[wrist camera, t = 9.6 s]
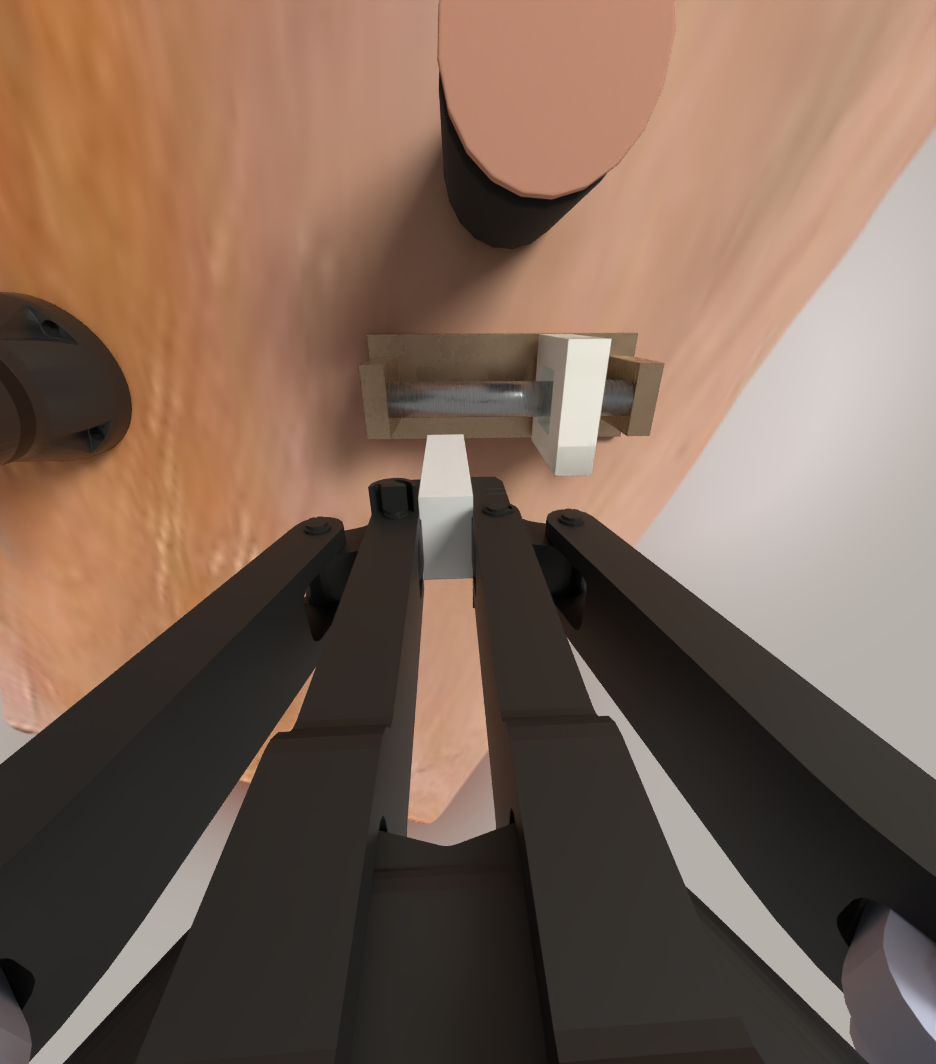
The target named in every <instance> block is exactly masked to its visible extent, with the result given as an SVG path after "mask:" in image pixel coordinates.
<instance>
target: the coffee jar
mask: <svg viewBox="0 0 936 1064" xmlns="http://www.w3.org/2000/svg"><path fill="white" fill-rule="evenodd" d="M675 32H676V13H675V0H440V1H439V12H438V58H437V60H438V65H439V99H440V116H441V132H442V149H443V165H444V178H445V182H446V187H447V192H448V196H449V201H450V203H451V205H452V207H453V209H454V211H455V213H456V215H457V217H458V219H459V221H460V223H461V224H462V225H463V226H464V227H465V228H466V229H467V230H468V231H469V232H470V233H471V234H472V235H473V236H474V237H475V238H476V239H478V240H480V241H482V242H484V243H486V244H488V245H490V246H492V247H497V248H509V249H513V248H516V247H520V246H523V245H527V244H530V243H532V242H533V241H535V240H536V239H537V238H539V237H540V236H541V235H543V234H544V233H546V232H547V231H548V230H549V229H550V228H551V227H552V226H554V225H555V224H556V223H557V222H558V221H559V220H560V219H561V218H562V217H563V216H564V215H565V214H566V213H567V212H568V211H570V210H571V209H572V208H573V207H574V206H575V205H576V204H577V203H578V202H579V201H580V200H581V199H582V198H583V197H584V196H585V195H587V194H588V193H589V192H590V191H591V190H592V189H593V188H594V187H595V186H596V185H597V184H598V183H599V182H600V181H601V180H602V179H603V178H604V176H605V175H606V174H607V172H609V171H610V170H611V169H613V168H614V167H615V166H617V165H618V164H619V162H620V161H621V160H622V159H623V157H624V156H625V155H626V153H627V152H628V151H629V149H630V148H631V147H632V146H633V144H634V143H635V142H636V140H637V139H638V138H639V136H640V135H641V134H642V132H643V131H644V130H645V127H646V125H647V123H648V121H649V118H650V116H651V114H652V112H653V109H654V107H655V105H656V103H657V100H658V98H659V96H660V94H661V92H662V89H663V87H664V84H665V80H666V75H667V70H668V65H669V61H670V56H671V51H672V46H673V41H674V37H675Z"/></svg>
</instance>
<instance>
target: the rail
mask: <svg viewBox="0 0 936 1064" xmlns="http://www.w3.org/2000/svg"><path fill="white" fill-rule="evenodd" d="M540 334H575V335H583V336H592V337H600V338H609V339H611V346H610V353H609V360H608V367H607V374H606V380H605V387H604V394H603V401H602V408H601V414H600V421H599V428H598V435H597V437H619V436H620V435H621V432H622V433H623V434H625V435H626V436H649V435H650V431H651V426H652V421H653V416H654V411H655V406H656V402H657V397H658V392H659V387H660V382H661V377H662V373H663V368H664V363H662V362H657V361H652V360H647V359H642V358H637V357H634V354H635V348H636V343H637V337H638V333H540ZM538 340H539V334H368V335H367V341H368V350H369V359H370V360H369V361H367V362H364V363H362V364H360V365H358V366H359V374H360V382H361V391H362V399H363V407H364V415H365V423H366V432H367V439H427V435H456V434H463V435H464V438H532V426H533V417H550V416H551V405H552V393H553V382H554V381H536V369H537V355H538Z"/></svg>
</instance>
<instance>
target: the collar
mask: <svg viewBox="0 0 936 1064" xmlns="http://www.w3.org/2000/svg"><path fill="white" fill-rule="evenodd" d="M610 346H611V339H609V338H600V337H592V336H583V335H575V334H539V340H538V355H537V369H536V381H554V382H553V393H552V405H551V416H550V417H533V426H532V442H533V443H534V445H535V446H536V448H537V449H538V451H539V452H540V454H541V455H542V457H543V459H544V460H545V462H546V463H547V465H548V466H549V468H550V469H551V471H552V472H553V474H554V475H555V476H583V475H592V469H593V462H594V455H595V449H596V442H597V435H598V428H599V421H600V414H601V408H602V401H603V394H604V387H605V380H606V374H607V367H608V360H609V353H610Z"/></svg>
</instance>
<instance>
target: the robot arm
mask: <svg viewBox="0 0 936 1064" xmlns="http://www.w3.org/2000/svg"><path fill="white" fill-rule="evenodd" d="M131 410H132V408H131V397H130V392H129V388H128V385H127V382H126V379H125V377H124V375H123V373H122V371H121V368H120V367H119V365H118V363H117V361H116V360H115V358H114V357H113V355H112V354H111V352H110V351H109V350H108V348H107V347H106V346H105V345H104V344H103V342H102V341H101V340H100V339H99V338H98V337H97V336H96V335H95V334H94V333H93V332H92V331H91V330H90V329H89V328H88V327H87V326H85V325H84V324H83V323H82V322H81V321H79V320H78V319H77V318H75V317H74V316H72V315H71V314H69V313H68V312H66V311H65V310H63V309H61V308H59V307H57V306H56V305H53V304H51V303H49V302H47V301H44V300H42V299H39V298H36V297H33V296H29V295H25V294H19V293H7V292H0V466H1V465H4V464H7V463H10V462H14V461H74V460H80V459H84V458H88V457H91V456H93V455H96V454H99V453H101V452H104V451H106V450H108V449H110V448H112V447H113V446H115V445H116V444H117V443H118V442H119V441H120V440H121V439H122V438H123V436H124V435H125V433H126V431H127V429H128V427H129V424H130V420H131ZM368 489H369V497H370V505H371V512H372V515H371V518H370V521H369V523H368V525H367V526H364V527H360V528H356V529H351V530H345V531H344V526H343V523H342V521H340V520H339V519H336V518H331V517H317V518H316V517H314V518H310V519H309V520H306V521H303V522H301V523H299V524H298V525H296V526H294V527H293V528H292V529H291V530H289V531H288V532H287V533H286V534H284V535H283V536H282V537H281V538H280V539H278V540H277V541H276V542H275V543H273V544H272V545H271V546H270V547H268V548H267V549H266V550H265V551H263V552H262V553H261V554H260V555H259V556H257V557H256V558H255V559H254V560H252V561H251V562H250V563H249V564H247V565H246V566H245V567H244V568H242V569H241V570H240V571H239V572H238V573H236V574H235V575H234V576H233V577H231V578H230V579H229V580H228V581H226V582H225V583H224V584H223V585H221V586H220V587H219V588H218V589H217V590H215V591H214V592H213V593H212V594H210V595H209V596H208V597H207V598H205V599H204V600H203V601H202V602H200V603H199V604H198V605H197V606H196V607H194V608H193V609H192V610H191V611H189V612H188V613H187V614H186V615H184V616H183V617H182V618H181V619H179V620H178V621H177V622H176V623H175V624H173V625H172V626H171V627H170V628H168V629H167V630H166V631H165V632H163V633H162V634H161V635H160V636H158V637H157V638H156V639H155V640H154V641H152V642H151V643H150V644H149V645H147V646H146V647H145V648H144V649H142V650H141V651H140V652H139V653H137V654H136V655H135V656H134V657H133V658H131V659H130V660H129V661H128V662H126V663H125V664H124V665H123V666H121V667H120V668H119V669H118V670H116V671H115V672H114V673H113V674H112V675H110V676H109V677H108V678H107V679H105V680H104V681H103V682H102V683H100V684H99V685H98V686H97V687H95V688H94V689H93V690H92V691H91V692H89V693H88V694H87V695H86V696H84V697H83V698H82V699H81V700H79V701H78V702H77V703H76V704H74V705H73V706H72V707H71V708H70V709H68V710H67V711H66V712H65V713H63V714H62V715H61V716H60V717H58V718H57V719H56V720H55V721H53V722H52V723H51V724H50V725H49V726H47V727H46V728H45V729H44V730H42V731H41V732H40V733H39V734H37V735H36V736H35V737H34V738H33V739H31V740H30V741H29V742H28V743H26V744H25V745H24V746H23V747H21V748H20V749H19V750H18V751H16V752H15V753H14V754H13V755H12V756H10V757H9V758H8V759H7V760H5V761H4V762H3V763H2V764H0V1064H29V1062H30V1061H31V1060H32V1058H33V1057H34V1056H35V1055H36V1054H37V1053H38V1052H39V1051H40V1049H41V1048H42V1047H43V1046H44V1045H45V1044H46V1043H47V1042H48V1041H49V1039H51V1037H52V1036H53V1035H54V1034H55V1033H56V1032H57V1031H58V1029H60V1027H61V1026H62V1025H63V1024H64V1023H65V1021H66V1020H67V1019H68V1018H69V1017H70V1015H71V1014H72V1013H73V1012H74V1010H75V1009H76V1008H77V1007H78V1005H79V1004H80V1003H81V1002H82V1001H83V999H84V998H85V997H86V996H87V994H88V993H89V992H90V991H91V990H92V988H93V987H94V986H95V985H96V983H97V982H98V981H99V979H101V977H102V976H103V975H104V974H105V972H106V971H107V970H108V969H109V967H110V966H111V964H112V963H113V962H114V960H115V959H116V957H117V956H118V955H119V953H120V952H121V951H122V949H123V948H124V946H125V945H126V944H127V942H128V941H129V940H130V938H131V937H132V936H133V934H134V933H135V931H136V930H137V929H138V927H139V926H140V924H141V923H142V922H143V920H144V919H145V917H146V916H147V914H148V913H149V911H150V910H151V909H152V907H153V906H154V904H155V903H156V901H157V900H158V898H159V897H160V895H161V894H162V892H163V891H164V889H165V888H166V887H167V885H168V883H169V882H170V881H171V879H172V878H173V876H174V875H175V873H176V872H177V870H178V869H179V867H180V866H181V864H182V863H183V862H184V860H185V859H186V857H187V856H188V854H189V853H190V851H191V850H192V848H193V847H194V845H195V844H196V842H197V841H198V839H199V838H200V837H201V835H202V834H203V832H204V830H205V829H206V827H207V826H208V825H209V823H210V822H211V820H212V819H213V817H214V816H215V814H216V813H217V811H218V810H219V809H220V807H221V806H222V804H223V803H224V801H225V800H226V798H227V797H228V795H229V794H230V792H231V791H232V789H233V788H234V786H235V785H236V784H237V782H238V781H239V779H240V778H241V776H242V775H243V773H244V772H245V770H246V769H247V767H248V766H249V764H250V763H251V762H252V760H253V759H254V757H255V756H256V754H257V753H258V751H259V750H260V748H261V747H262V745H263V744H264V742H265V741H266V739H267V738H268V737H269V735H270V734H271V732H272V731H273V729H274V728H275V726H276V725H277V723H278V722H279V720H280V719H281V717H282V716H283V714H284V713H285V711H286V710H287V709H288V707H289V706H290V704H291V703H292V701H293V700H294V698H295V697H296V695H297V694H298V692H299V691H300V689H301V688H302V686H303V685H304V684H305V682H306V681H307V679H308V678H309V676H310V675H311V673H312V672H313V670H314V669H315V667H316V669H315V672H314V674H313V677H312V680H311V683H310V685H309V688H308V691H307V694H306V696H305V699H304V702H303V705H302V707H301V710H300V713H299V716H298V718H297V721H296V723H295V725H294V727H293V729H292V730H291V731H290V732H278V733H277V734H276V735H275V736H274V737H273V738H272V739H271V740H270V742H269V743H268V745H267V747H266V749H265V751H264V753H263V755H262V757H261V760H260V762H259V764H258V767H257V769H256V772H255V774H254V777H253V779H252V781H251V784H250V786H249V789H248V791H247V793H246V796H245V798H244V801H243V803H242V806H241V808H240V810H239V813H238V815H237V818H236V820H235V823H234V825H233V827H232V830H231V832H230V835H229V837H228V839H227V842H226V844H225V847H224V849H223V851H222V854H221V856H220V859H219V861H218V864H217V866H216V869H215V871H214V873H213V876H212V878H211V881H210V883H209V885H208V888H207V890H206V893H205V895H204V897H203V900H202V902H201V905H200V907H199V909H198V912H197V914H196V917H195V919H194V922H193V924H192V926H191V928H190V929H189V930H188V931H187V932H186V933H185V934H184V935H183V936H182V937H181V938H180V939H179V940H178V941H177V942H176V944H175V945H174V946H173V947H172V948H171V949H170V950H169V951H168V952H167V953H166V954H165V955H164V956H163V957H162V958H161V960H160V961H159V962H158V963H157V964H156V965H155V966H154V967H153V968H152V969H151V970H150V971H149V972H148V973H147V975H146V976H145V977H144V978H143V979H142V980H141V981H140V982H139V983H138V984H137V985H136V986H135V987H134V988H133V989H132V990H131V992H130V993H129V994H128V995H127V996H126V997H125V998H124V999H123V1000H122V1001H121V1002H120V1003H119V1004H118V1005H117V1007H115V1009H114V1010H113V1011H112V1012H111V1013H110V1014H109V1015H108V1016H107V1017H106V1018H105V1019H104V1021H102V1023H100V1025H99V1026H98V1027H97V1028H96V1029H95V1030H94V1031H93V1032H92V1033H91V1034H90V1035H89V1036H88V1037H87V1038H86V1040H85V1041H84V1042H83V1043H82V1044H81V1045H80V1046H79V1047H78V1048H77V1049H76V1050H75V1051H74V1052H73V1053H72V1055H71V1056H70V1057H69V1058H68V1059H67V1060H66V1061H65V1062H64V1063H63V1064H936V780H935V779H934V778H933V777H931V776H930V775H929V774H927V773H926V772H925V771H923V770H922V769H921V768H920V767H918V766H917V765H916V764H914V763H913V762H912V761H910V760H909V759H908V758H907V757H905V756H904V755H903V754H901V753H900V752H899V751H897V750H896V749H895V748H893V747H892V746H891V745H890V744H888V743H887V742H886V741H884V740H883V739H882V738H880V737H879V736H878V735H876V734H875V733H874V732H873V731H871V730H870V729H869V728H867V727H866V726H865V725H864V724H862V723H861V722H860V721H858V720H857V719H856V718H854V717H853V716H852V715H851V714H849V713H848V712H847V711H845V710H844V709H843V708H841V707H840V706H839V705H838V704H836V703H835V702H834V701H832V700H831V699H830V698H828V697H827V696H826V695H824V694H823V693H822V692H820V691H819V690H818V689H817V688H815V687H814V686H813V685H811V684H810V683H809V682H808V681H806V680H805V679H803V678H802V677H801V676H800V675H798V674H797V673H796V672H795V671H793V670H792V669H791V668H789V667H788V666H787V665H785V664H784V663H783V662H782V661H780V660H779V659H778V658H776V657H775V656H774V655H772V654H771V653H770V652H768V651H767V650H766V649H765V648H763V647H762V646H761V645H759V644H758V643H757V642H755V641H754V640H753V639H752V638H750V637H749V636H748V635H746V634H745V633H743V632H742V631H741V630H740V629H739V628H737V627H736V626H735V625H733V624H732V623H731V622H729V621H728V620H727V619H726V618H724V617H723V616H722V615H720V614H719V613H718V612H716V611H715V610H714V609H712V608H711V607H710V606H708V605H707V604H706V603H705V602H703V601H702V600H701V599H699V598H698V597H697V596H696V595H694V594H693V593H692V592H690V591H689V590H688V589H686V588H685V587H684V586H682V585H681V584H680V583H679V582H677V581H676V580H675V579H673V578H672V577H671V576H669V575H668V574H667V573H666V572H664V571H663V570H662V569H660V568H659V567H658V566H657V565H655V564H654V563H653V562H651V561H650V560H649V559H647V558H646V557H645V556H643V555H642V554H641V553H640V552H638V551H637V550H636V549H634V548H633V547H632V546H630V545H629V544H628V543H627V542H625V541H624V540H623V539H621V538H620V537H619V536H617V535H616V534H615V533H614V532H612V531H611V530H610V529H608V528H607V527H606V526H604V525H603V524H602V523H601V522H599V521H598V520H597V519H595V518H594V517H593V516H591V515H589V514H587V513H585V512H581V511H579V510H576V509H573V510H572V509H565V510H557V511H553V512H551V513H550V514H548V516H547V520H546V524H545V523H537V522H531V521H527V520H524V519H522V517H521V514H520V511H519V510H518V508H517V507H516V506H514V505H512V504H510V502H509V499H508V496H507V494H506V491H505V489H504V485H503V482H502V481H500V480H499V479H497V478H496V477H470V473H469V467H468V460H467V454H466V448H465V441H464V435H463V434H456V435H427V442H426V449H425V456H424V462H423V469H422V476H421V480H409V479H404V478H389V479H383V480H379V481H376V482H374V483H372V484H371V485H370V486H369V487H368ZM423 573H424V580H432V579H462V578H473V608H475V614H476V624H477V634H478V644H479V654H480V665H481V675H482V685H483V695H484V705H485V716H486V726H487V736H488V746H489V757H490V766H491V776H492V787H493V797H494V807H495V818H496V830H494V831H491V832H488V833H486V834H483V835H480V836H478V837H475V838H472V839H469V840H467V841H464V842H462V843H459V844H456V845H452V846H440V845H436V844H432V843H428V842H424V841H420V840H416V839H412V838H408V837H407V819H408V805H409V791H410V777H411V763H412V749H413V736H414V722H415V708H416V694H417V680H418V667H419V653H420V639H421V625H422V611H423V597H424V580H423ZM305 593H306V596H305V598H304V595H305ZM566 636H567V637H566ZM567 638H568V639H569V641H570V642H571V643H572V645H573V646H574V647H575V649H576V650H577V651H578V653H579V654H580V656H581V657H582V658H583V660H584V661H585V662H586V664H587V665H588V667H589V668H590V669H591V671H592V672H593V673H594V675H595V676H596V678H597V679H598V680H599V682H600V683H601V684H602V686H603V687H604V688H605V690H606V691H607V693H608V694H609V695H610V697H611V698H612V699H613V701H614V702H615V703H616V705H617V706H618V707H619V709H620V710H621V711H622V713H623V714H624V716H625V717H626V718H627V720H628V721H629V723H630V724H631V725H632V727H633V728H634V730H635V731H636V732H637V734H638V735H639V736H640V738H641V739H642V740H643V742H644V743H645V745H646V746H647V747H648V749H649V750H650V751H651V753H652V754H653V756H654V757H655V758H656V760H657V761H658V762H659V763H660V765H661V766H662V768H663V769H664V770H665V772H666V773H667V774H668V776H669V777H670V779H671V780H672V781H673V783H674V784H675V785H676V787H677V788H678V790H679V791H680V792H681V794H682V795H683V797H684V798H685V799H686V801H687V802H688V803H689V805H690V806H691V808H692V809H693V810H694V812H695V813H696V814H697V816H698V817H699V818H700V820H701V821H702V823H703V824H704V825H705V827H706V828H707V829H708V831H709V832H710V833H711V834H712V836H713V838H714V839H715V840H716V842H717V843H718V844H719V846H720V847H721V849H722V850H723V851H724V853H725V854H726V855H727V857H728V858H729V860H730V861H731V862H732V864H733V865H734V866H735V868H736V869H737V870H738V872H739V873H740V875H741V876H742V877H743V879H744V880H745V881H746V883H747V884H748V885H749V886H750V888H751V889H752V890H753V891H754V893H755V894H756V895H757V896H758V898H759V899H760V900H761V902H762V903H763V904H764V906H765V907H766V908H767V909H768V911H769V912H770V913H771V914H772V916H773V917H774V918H775V919H776V921H777V922H778V923H779V924H780V925H781V926H782V928H784V930H785V931H786V932H787V933H788V934H789V935H790V937H791V938H792V939H793V940H794V941H795V942H796V943H797V945H799V947H800V948H801V949H802V950H803V951H804V952H805V953H806V955H807V956H808V957H809V958H810V959H811V960H812V961H813V963H815V965H816V966H817V967H818V968H819V969H820V970H821V971H822V972H823V973H824V974H825V975H826V976H827V977H828V978H829V979H830V980H831V981H832V982H833V983H834V984H835V985H836V986H837V987H838V988H839V989H840V990H841V991H842V992H843V993H844V998H845V1003H846V1005H847V1008H848V1010H849V1013H850V1015H851V1018H850V1035H851V1038H852V1041H853V1044H854V1047H855V1049H856V1050H855V1049H854V1048H853V1047H852V1046H850V1044H849V1043H848V1042H846V1041H845V1040H844V1039H843V1038H842V1037H841V1036H840V1035H839V1034H838V1033H837V1032H836V1031H835V1030H834V1029H833V1028H832V1027H831V1026H830V1025H829V1024H828V1023H827V1022H826V1021H825V1020H824V1019H823V1018H821V1016H820V1015H818V1013H817V1012H816V1011H815V1010H813V1009H812V1008H811V1007H810V1006H809V1005H808V1004H807V1003H806V1002H805V1001H804V1000H803V999H802V998H801V997H800V996H799V995H798V994H797V993H796V992H795V991H794V990H793V989H792V988H791V987H790V986H789V985H788V984H787V983H786V982H785V981H784V980H783V979H782V978H780V977H779V976H778V975H777V974H776V973H775V972H774V971H773V970H772V969H771V968H770V967H769V966H768V965H767V964H766V963H765V962H764V961H763V960H762V959H761V958H760V957H759V956H758V955H757V954H756V953H755V952H754V951H753V950H752V949H751V948H750V947H749V946H748V945H747V944H745V943H744V942H743V941H742V940H741V939H740V938H739V937H738V936H737V935H736V934H735V933H734V932H733V931H732V930H731V929H730V928H729V927H728V926H727V925H726V924H725V923H724V922H723V921H722V920H721V919H720V918H719V917H718V916H717V915H716V914H714V912H712V911H711V910H710V909H709V908H708V907H707V906H706V905H705V904H704V903H703V902H702V901H701V900H700V899H699V898H698V897H697V896H696V895H695V894H694V893H692V892H691V891H690V890H689V889H688V888H687V887H686V886H685V884H684V882H683V879H682V877H681V875H680V872H679V870H678V868H677V866H676V863H675V860H674V858H673V856H672V853H671V851H670V849H669V846H668V844H667V841H666V839H665V837H664V834H663V832H662V830H661V827H660V825H659V822H658V820H657V818H656V815H655V813H654V811H653V808H652V805H651V803H650V801H649V798H648V796H647V794H646V791H645V789H644V786H643V784H642V782H641V779H640V777H639V775H638V772H637V770H636V768H635V765H634V763H633V760H632V758H631V756H630V753H629V751H628V748H627V746H626V744H625V741H624V739H623V736H622V734H621V732H620V731H619V729H618V727H617V725H616V723H615V722H614V721H613V720H612V719H611V718H610V717H609V716H598V715H597V714H596V713H595V710H594V708H593V706H592V703H591V701H590V698H589V695H588V693H587V691H586V687H585V685H584V682H583V679H582V677H581V674H580V671H579V669H578V666H577V663H576V661H575V658H574V655H573V653H572V650H571V647H570V645H569V642H568V639H567Z"/></svg>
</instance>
